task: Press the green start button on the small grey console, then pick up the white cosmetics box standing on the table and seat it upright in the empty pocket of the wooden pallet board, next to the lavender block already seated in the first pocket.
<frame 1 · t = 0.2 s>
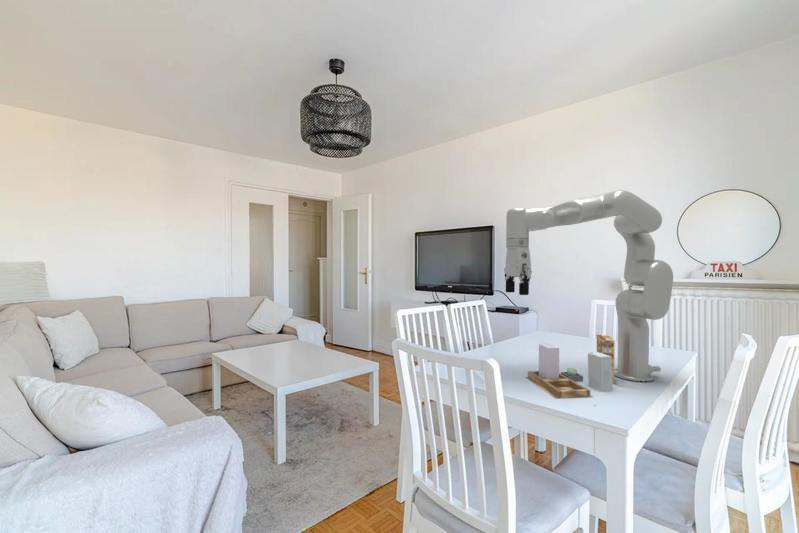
hand: (516, 293, 127), 31 cm above the table, tool pointing down, fingers open, 9 cm apart
console: (571, 382, 126), on the table
seated billet: (548, 381, 124), point 1 cm above the table, touching pallet
candy box: (604, 381, 128), on the table
start button: (571, 373, 126), point 3 cm above the table, slide at 0.0 cm
pallet: (556, 389, 119), on the table
skincare box: (599, 392, 118), on the table
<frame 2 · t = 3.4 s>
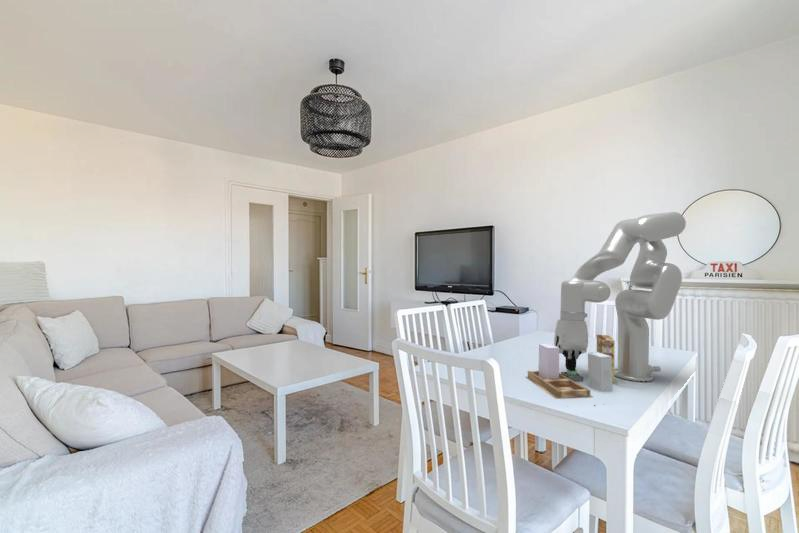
hand: (570, 369, 126), 5 cm above the table, tool pointing down, fingers closed
start button: (571, 373, 126), point 3 cm above the table, slide at 0.0 cm, touching gripper
everything else where it was.
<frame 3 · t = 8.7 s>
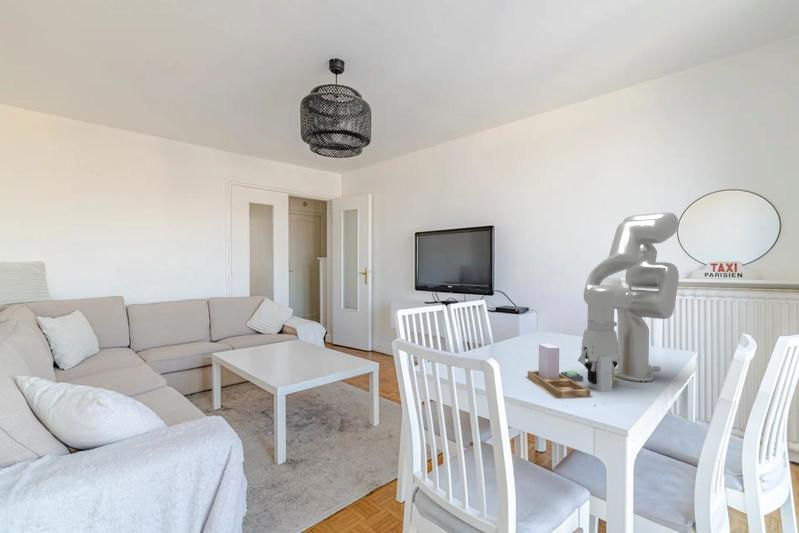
hand: (599, 381, 117), 3 cm above the table, tool pointing down, fingers closed on skincare box, 4 cm apart
start button: (571, 375, 126), point 2 cm above the table, slide at -0.9 cm
skincare box: (599, 392, 118), on the table, touching gripper
everything else where it was.
when the fingers open (5 cm above the table, at t = 14.8 s): skincare box stays where it is, resting on pallet.
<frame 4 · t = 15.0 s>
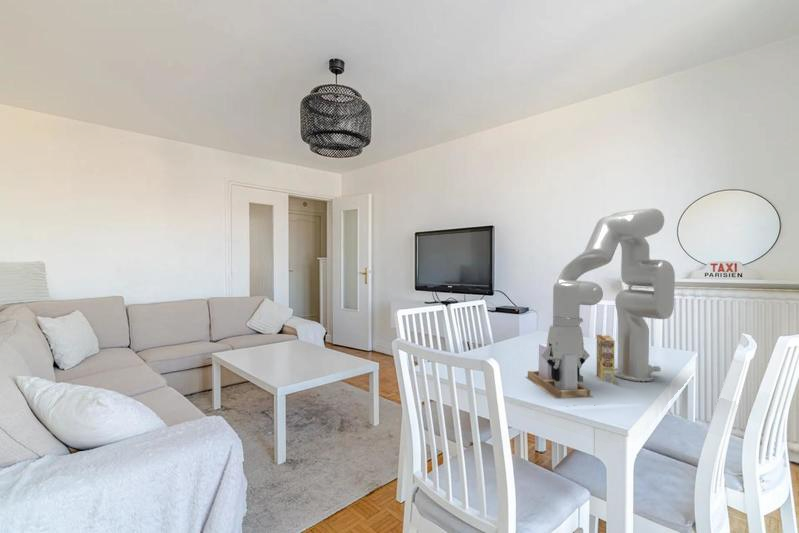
hand: (565, 379, 114), 5 cm above the table, tool pointing down, fingers open, 5 cm apart
skincare box: (565, 392, 114), point 1 cm above the table, touching pallet
everything else where it was.
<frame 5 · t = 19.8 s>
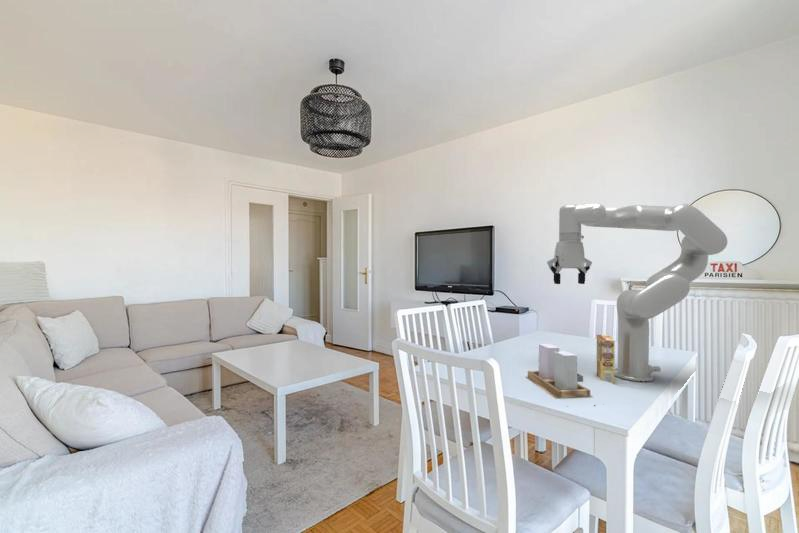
hand: (569, 283, 138), 33 cm above the table, tool pointing down, fingers open, 9 cm apart
nothing on the table moved.
at the end: skincare box inside the target area on the pallet (0.1 cm from its centre), point 1.0 cm above the pallet's base; skincare box tilted 0°; the gripper is holding nothing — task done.
